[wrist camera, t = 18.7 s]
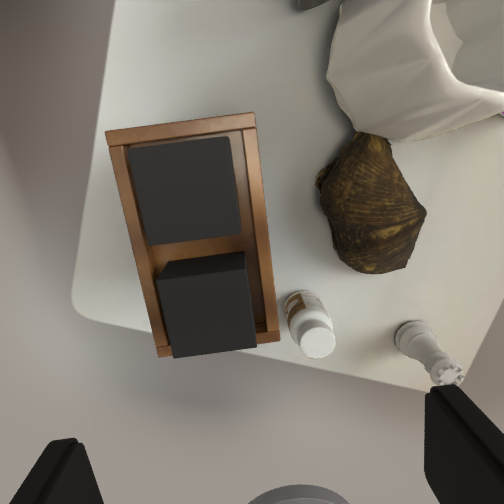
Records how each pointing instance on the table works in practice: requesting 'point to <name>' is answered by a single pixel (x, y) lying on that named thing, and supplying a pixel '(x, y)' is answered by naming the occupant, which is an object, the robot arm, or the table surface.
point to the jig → (249, 240)
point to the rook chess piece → (428, 353)
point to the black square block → (207, 304)
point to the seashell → (370, 206)
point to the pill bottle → (309, 324)
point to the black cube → (186, 190)
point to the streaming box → (309, 3)
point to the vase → (418, 65)
